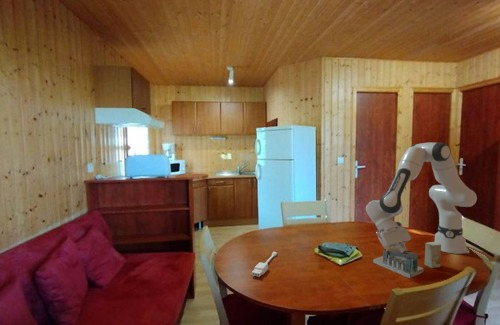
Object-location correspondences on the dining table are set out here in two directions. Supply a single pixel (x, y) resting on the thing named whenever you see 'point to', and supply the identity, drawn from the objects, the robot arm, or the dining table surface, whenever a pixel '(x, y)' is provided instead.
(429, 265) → the skincare box
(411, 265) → the grey dish rack
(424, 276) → the dining table surface
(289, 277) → the dining table surface
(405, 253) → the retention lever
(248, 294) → the dining table surface
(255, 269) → the charging cable
